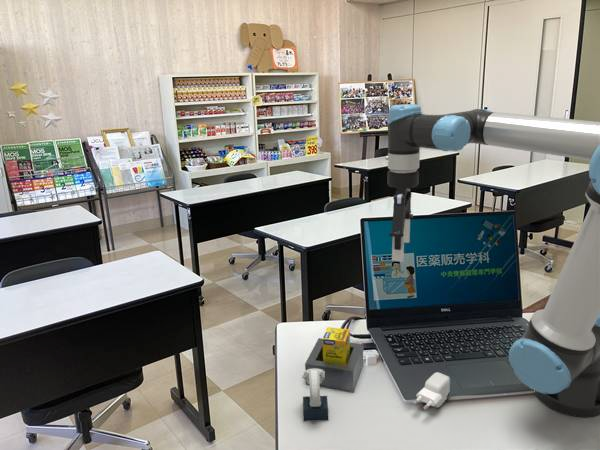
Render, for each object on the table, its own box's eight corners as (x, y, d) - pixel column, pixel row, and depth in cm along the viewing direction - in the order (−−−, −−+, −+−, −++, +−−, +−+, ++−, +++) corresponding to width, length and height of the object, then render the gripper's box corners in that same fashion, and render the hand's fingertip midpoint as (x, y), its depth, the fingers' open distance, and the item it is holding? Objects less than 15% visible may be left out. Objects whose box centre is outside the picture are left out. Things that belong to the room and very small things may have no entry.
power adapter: (428, 424, 102) (429, 401, 101) (408, 414, 106) (409, 392, 104) (452, 398, 110) (453, 376, 108) (433, 389, 113) (434, 368, 112)
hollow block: (363, 364, 124) (363, 344, 122) (353, 392, 114) (353, 371, 112) (319, 357, 128) (318, 338, 126) (306, 384, 117) (305, 363, 115)
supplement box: (346, 379, 118) (346, 341, 114) (323, 376, 119) (321, 338, 116) (350, 366, 123) (350, 328, 120) (328, 363, 125) (327, 326, 121)
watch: (326, 401, 111) (325, 361, 108) (328, 425, 103) (327, 383, 100) (303, 402, 111) (301, 361, 108) (303, 426, 103) (301, 384, 100)
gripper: (394, 160, 128) (393, 234, 134) (379, 180, 105) (378, 268, 112) (423, 160, 126) (420, 236, 132) (413, 181, 103) (411, 271, 110)
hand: (401, 251), depth 122 cm, fingers open, 13 cm apart
